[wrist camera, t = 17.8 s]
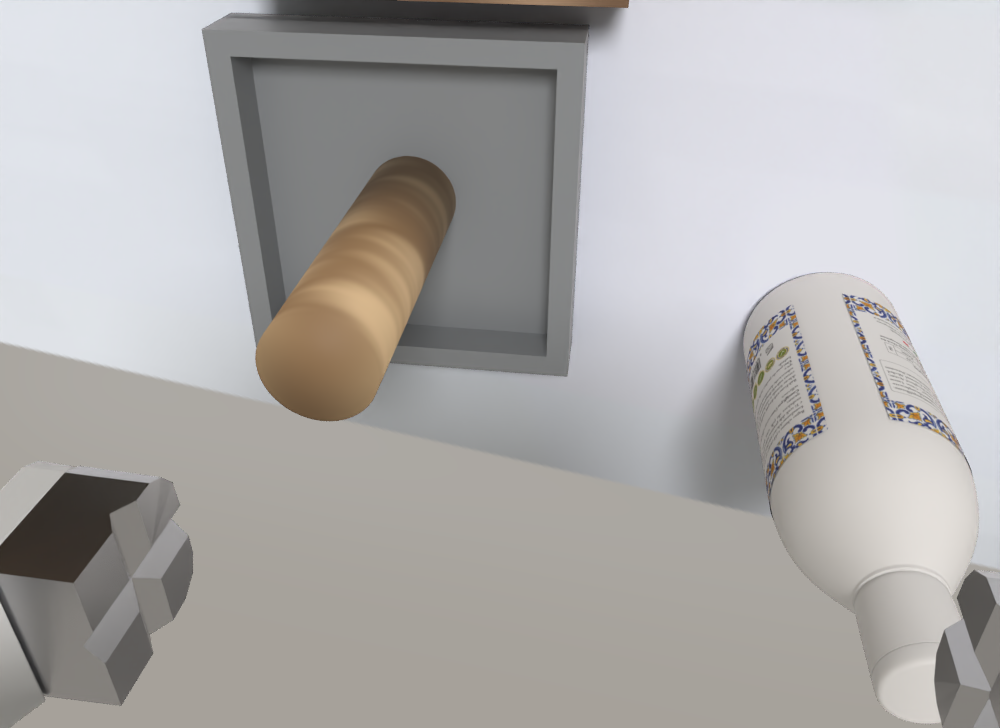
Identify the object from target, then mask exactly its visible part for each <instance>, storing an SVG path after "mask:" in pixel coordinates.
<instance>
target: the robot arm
mask: <svg viewBox="0 0 1000 728" xmlns="http://www.w3.org/2000/svg"><path fill="white" fill-rule="evenodd" d="M179 506H180V503H179V500H178V497H177V494H176V491H175V488H174V485H173V482H171V481H168V480H166V479H164V478H162V477H155V476H148V475H141V474H133V473H127V472H120V471H112V470H105V469H98V468H91V467H84V466H78V467H76V466H69V465H62V464H56V463H49V462H42V461H37V462H34V463H32V464H29V465H27V466H24V467H23V468H22V469H20V470H19V472H18V473H17V474H16V475H15V476H14V477H13V478H12V479H11V480H10V481H9V482H8V483H7V484H6V485H5V486H4V487H3V488H2V489H1V490H0V728H10V727H11V726H13V725H14V724H15V723H17V722H18V721H19V720H21V719H22V718H23V717H24V716H26V715H27V714H29V713H30V712H31V711H32V710H34V709H35V708H37V707H38V706H39V705H41V704H42V703H43V702H45V697H44V696H47V697H55V698H63V699H71V700H79V701H87V702H95V703H103V704H112V705H119V706H121V705H122V704H123V702H124V700H125V699H126V697H127V695H128V694H129V692H130V691H131V689H132V687H133V686H134V684H135V682H136V681H137V679H138V677H139V676H140V674H141V672H142V671H143V669H144V668H145V666H146V664H147V663H148V661H149V659H150V658H151V656H152V655H153V649H152V644H151V638H150V634H152V633H153V632H155V631H157V630H158V629H160V628H161V627H163V626H165V625H166V624H168V623H169V622H171V621H172V620H174V618H175V616H176V615H177V613H178V611H179V609H180V608H181V606H182V604H183V602H184V601H185V599H186V596H187V592H188V588H189V585H190V581H191V578H192V574H193V551H192V547H191V544H190V539H189V536H188V535H187V534H186V533H185V532H184V531H183V530H182V529H181V528H180V527H179V526H178V525H177V524H176V523H175V522H174V521H173V520H172V519H171V518H172V517H173V515H174V514H175V512H176V511H177V509H178V508H179ZM957 599H958V602H959V606H960V609H961V612H962V615H963V619H961V620H959V621H958V622H956V623H954V624H953V625H951V626H949V627H948V628H946V629H944V632H943V635H942V638H941V641H940V644H939V647H938V650H937V653H936V662H935V675H934V685H935V694H936V703H937V707H938V711H939V715H940V719H941V723H942V727H943V728H1000V573H999V572H990V571H980V570H974V571H973V572H972V573H971V574H970V575H969V576H968V577H967V578H966V579H965V580H964V582H963V585H962V587H961V590H960V592H959V594H958V597H957Z"/></svg>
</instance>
